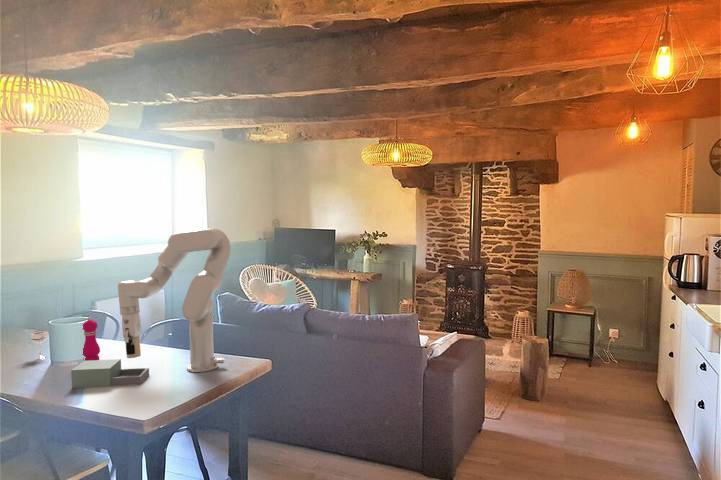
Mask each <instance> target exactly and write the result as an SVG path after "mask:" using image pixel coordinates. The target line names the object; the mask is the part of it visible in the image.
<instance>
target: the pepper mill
mask: <svg viewBox="0 0 721 480" xmlns="http://www.w3.org/2000/svg"><path fill="white" fill-rule="evenodd" d="M84 322H85V323H84ZM84 322H83V323H84V324H83V323H82V326H83V328H82V330H83V331H84V332H83V335H84V338H85V339H84V340H85V341H84V344H83V346H84V348H83V347H82V349H83V354H82V355H83V357H86V358H85V361H90V360H100V355H99V354H100V353H101V347H100V345H99V344H98V342H97V337H96V336H97V329H98V322H97V321H95V320H93V317H91V316H88V317H87V320H86V321H84Z"/></svg>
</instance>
